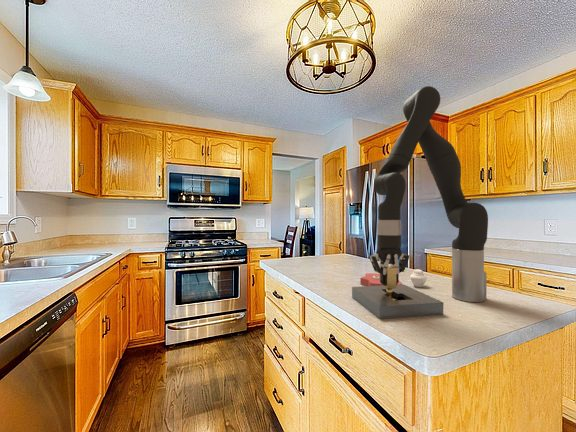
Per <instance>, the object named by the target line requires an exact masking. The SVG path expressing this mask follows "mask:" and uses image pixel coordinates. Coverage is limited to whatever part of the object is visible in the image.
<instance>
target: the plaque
mask: <svg viewBox="0 0 576 432" xmlns="http://www.w3.org/2000/svg"><path fill="white" fill-rule="evenodd" d="M359 282H360V285H362V286H382V284H381V283H380V273H372V272H371V273H365V274H364V276H362V277H361V276H360V281H359ZM397 285H403V283H402V281H400V280H399V282H398V283H397Z"/></svg>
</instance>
